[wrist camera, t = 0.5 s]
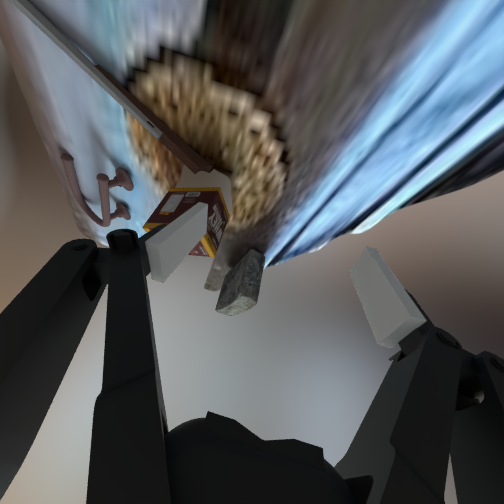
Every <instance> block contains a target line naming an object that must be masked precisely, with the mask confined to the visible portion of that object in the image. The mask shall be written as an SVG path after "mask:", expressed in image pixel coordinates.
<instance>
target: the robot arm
mask: <svg viewBox="0 0 504 504" xmlns="http://www.w3.org/2000/svg"><path fill="white" fill-rule="evenodd" d="M207 214H208V204H205V203H201V202H199V203H197V204H196V205H194V206H193V207H192V208H190V209H189V210H188V211H186V212H185V213H184V214H182V215H181V216H179V217H178V218H177V219H175V220H174V221H173V222H171V223H170V224H169V225H168V224H161V225H158V226H156V227H155V228H153V229H152V230H150V231H149V232H148V233H146V234H144V235H143V236H141V237H140V238H139V239H138V235H137V233H136V231H134V230H131V229H118V230H114V231H111V232H110V233H108V234H107V236H106V238H107V241H108V244H109V247H110V248H98V247H97V245H96V243H95V241H93V240H91V239H76V240H72V241H70V242H67V243H66V244H64V245H63V246H62V247H61V248H60V249H59V250H58V251H57V253H55V255H54V256H53V257H52V258H51V259H50V260H49V261H48V262H47V263H46V265H44V267H43V268H42V269H41V270H40V271H39V272H38V273H37V274H36V275H35V276H34V278H33V279H32V280H31V281H30V282H29V283H28V284H27V285H26V286H25V287H24V288H23V290H22V291H21V292H20V293H19V294H18V295H17V296H16V297H15V298H14V299H13V300H12V302H11V303H10V304H9V305H8V306H7V307H6V308H5V309H4V310H3V311H2V313H1V314H0V500H1V498H2V497H3V495H4V494H5V492H6V490H7V489H8V487H9V485H10V484H11V482H12V480H13V479H14V477H15V475H16V474H17V472H18V470H19V469H20V467H21V465H22V463H23V461H24V459H25V457H26V455H27V454H28V451H29V450H30V448H31V446H32V444H33V442H34V440H35V438H36V435H37V433H38V431H39V429H40V427H41V425H42V423H43V420H44V418H45V416H46V414H47V412H48V409H49V408H50V405H51V403H52V401H53V399H54V397H55V395H56V392H57V390H58V388H59V386H60V384H61V382H62V380H63V377H64V375H65V373H66V371H67V369H68V367H69V365H70V362H71V360H72V358H73V356H74V353H75V352H76V349H77V347H78V345H79V343H80V341H81V339H82V337H83V335H84V332H85V330H86V328H87V326H88V324H89V322H90V320H91V317H92V315H93V313H94V311H95V309H96V307H97V305H98V302H99V300H100V298H101V296H102V294H103V292H104V289H105V287H106V285H107V284H108V300H107V315H106V316H107V317H106V333H105V349H104V366H103V383H102V390H101V393H100V394H99V395H98V397H97V399H96V402H95V407H94V414H93V415H94V416H93V426H92V439H91V451H90V463H89V475H88V487H87V500H86V504H445V501H444V491H445V483H446V476H447V469H448V461H449V454H450V456H451V463H452V469H453V475H454V482H455V488H456V495H457V501H458V504H504V359H502V358H500V357H498V356H497V355H495V354H492V353H490V352H487V351H483V352H481V353H480V354H478V355H474V354H472V353H470V352H468V351H466V350H464V349H462V346H461V345H460V343H459V342H458V341H457V340H456V339H455V338H454V337H453V336H452V335H450V334H449V333H448V332H446V331H444V330H443V329H440V328H438V327H435V326H434V325H433V324H432V322H431V321H430V319H429V318H428V316H427V315H426V314H425V312H424V311H423V310H422V309H421V307H420V305H419V304H418V303H417V301H416V300H415V299H414V297H413V296H412V295H411V294H410V293H409V292H408V291H407V290H405V289H404V288H403V286H402V285H401V284H400V282H399V281H398V279H397V278H396V277H395V275H394V274H393V272H392V271H391V270H390V268H389V267H388V265H387V264H386V262H385V261H384V260H383V258H382V257H381V255H380V254H379V252H378V251H377V250H376V249H374V248H370V247H366V248H365V249H364V251H363V252H362V254H361V255H360V256H359V258H358V259H357V261H356V262H355V264H354V265H353V267H352V268H351V270H350V271H349V273H350V276H351V278H352V281H353V284H354V286H355V289H356V291H357V294H358V296H359V299H360V301H361V304H362V306H363V309H364V311H365V314H366V316H367V319H368V321H369V324H370V327H371V329H372V331H373V334H374V337H375V339H376V342H377V344H378V345H380V346H383V347H387V348H390V349H391V348H392V347H394V346H395V345H396V344H398V343H399V345H400V347H401V349H402V350H400V351H399V352H398V353H396V354H395V355H393V356H392V357H391V358H390V359H389V360H390V361H391V360H393V362H392V364H391V366H390V368H389V370H388V372H387V374H386V376H385V378H384V380H383V382H382V384H381V386H380V388H379V390H378V392H377V394H376V396H375V398H374V400H373V401H372V404H371V405H370V407H369V410H368V411H367V413H366V415H365V417H364V419H363V421H362V423H361V425H360V427H359V429H358V431H357V433H356V435H355V437H354V439H353V441H352V443H351V445H350V447H349V449H348V451H347V453H346V454H345V456H344V457H343V458H342V459H341V460H340V461H339V462H338V463H337V464H336V466H335V467H333V466H332V465H331V464H329V463H328V462H327V461H326V460H325V459H324V457H323V448H321V447H318V446H314V445H311V444H308V443H305V442H302V441H299V440H296V439H284V440H268V441H265V440H262V439H260V438H259V437H258V436H256V435H255V434H254V433H252V432H251V431H249V430H248V429H247V428H245V427H244V426H243V425H241V424H240V423H239V422H237V421H236V420H234V419H230V418H227V417H224V416H221V415H218V414H215V413H212V412H209V411H208V412H207V415H206V418H197V419H193V420H190V421H187V422H184V423H182V424H181V425H179V426H177V427H175V428H174V429H172V430H171V431H170V432H168V425H167V419H166V412H165V406H164V400H163V394H162V386H161V380H160V373H159V366H158V358H157V351H156V344H155V338H154V330H153V322H152V315H151V309H150V301H149V294H148V288H147V280H146V276H147V275H148V274H149V273H151V278H152V279H153V280H156V281H160V282H164V281H165V280H166V279H167V278H168V277H169V275H170V274H171V273H172V272H173V271H174V270H175V269H176V268H177V266H178V265H179V264H180V263H181V262H182V261H183V259H184V258H185V257H186V256H187V255H188V254H189V253H190V251H191V250H192V249H193V248H194V247H195V246H196V245H197V243H198V242H199V241H200V240H201V239H202V238H203V236H204V235H205V234H206V232H207ZM483 396H484V400H483V401H482V402H481V403H479V399H478V398H480V397H483Z"/></svg>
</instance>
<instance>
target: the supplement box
mask: <svg viewBox="0 0 504 504" xmlns="http://www.w3.org/2000/svg"><path fill="white" fill-rule="evenodd" d="M199 202H201V203H205V204H208V214H207V232H206V234H205V235H204V236H203V238H202V239H201V240H200V241H199V242H198V243H197V245H196V246H195V247H194V248H193V249H192V250H191V251H190V253H189V254H188V255H196V256H208V257H215V255H216V252H217V249H218V246H219V243H220V241H221V238H222V235H223V232H224V229H225V227H226V224H227V221H228V218H229V213H228V210H227V208H226V204H225V201H224V198H223V195H222V192H221V189H220V188H171V189H170V190H169V191H168V193H167V194H166V195H165V197H164V198H163V200H162V201H161V202H160V204H159V205H158V207H157V208H156V209H155V211H154V212H153V214H152V215H151V216H150V218H149V219H148V220H147V222H146V223H145V225H144V226H143V227H142V228H143V229H144V230H145V231H146V232H147V233H148V232H149V231H150V230H152V229H153V228H155V227H156V226H158V225H161V224H168V225H169V224H170V223H171V222H173V221H174V220H175V219H177V218H178V217H179V216H181V215H182V214H184V213H185V212H186V211H188V210H189V209H190V208H192V207H193V206H194V205H196V204H197V203H199Z"/></svg>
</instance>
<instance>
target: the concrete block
mask: <svg viewBox="0 0 504 504" xmlns="http://www.w3.org/2000/svg"><path fill="white" fill-rule="evenodd" d="M264 265H265V256H264V255H262V254H260V253H259V252H257V251H255V250H254V249H250V250H249V251H248V253H247V254H246V255H245V256H244V257H243V258H242V259H241V260H240V261H239V262H238V263H237V264H236V265H235V266H234V267H233V268H232V269H231V270H230V271H229V272H228V273H227V274H226V276H225V278H224V281H223V285H222V288H221V291H220V295H219V299H218V302H217V305H216V311H217V312H219V313H222V314H225V315H230V316H232V315H236V314H239V313H242V312H244V311H246V310H248V309H250V308H252V307H253V306H255V305H256V304H257V300H258V295H259V290H260V283H261V278H262V272H263V268H264Z"/></svg>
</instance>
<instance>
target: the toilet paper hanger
mask: <svg viewBox="0 0 504 504" xmlns="http://www.w3.org/2000/svg"><path fill="white" fill-rule="evenodd" d="M61 159H62V161H63V163H64V166H65V170H66V173H67V177H68V180H69V183H70V187H71V190H72V193H73V195H74V197H75V199H76V200H77V202H78V203H79V205H80V206H81V208H82V209H83V210H84V211H85V212H86V214H87V215H88V216H89V217H90V218H91V219H92V220H93V221H94V222H96V223H97V224H98V225H100V226H103V227H108V226H109V225H110V222H111V220H112V219H114V218H117V217H124V218H125V219H126V220H130V219H131V216H130V213H129V212H128V210H127V209H126V207H125V206H124V205H123V204H121V203H117V204H116V207H117V209H116V210H115V212H114V213H111V214H110V201H109V188H112V187H115V186H120V187H124V188H125V189H126V190H128V191H131V190H133V188H134V187H133V182H132V180H131V178H130V176H129V175H128V174H127V172H126V171H125V170H123V169H122V168H117V169H116V171H115V172H116V176H115V177H114V179H113V180H109V177H108V176H107V175H106V174H103V173H101V174H98V175H97V180H98V184H99V192H100V200H101V208H102V216H103V220H102V219H100V218H99V217H98V216H97V215H96V214H95V213H94V212H93V211H92V210H91V209H90V207H89V206H88V205H87V203H86V202H85V200H84V199H83V197H82V195H81V192H80V189H79V184H78V180H77V176H76V172H75V168H74V164H73V161H74V159H73V158H72V157H71V156H70V155H68V154H63V155H61Z"/></svg>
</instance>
